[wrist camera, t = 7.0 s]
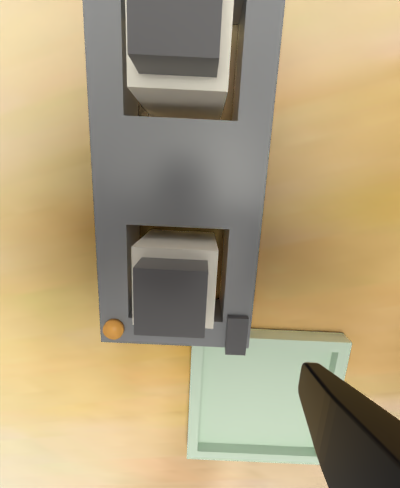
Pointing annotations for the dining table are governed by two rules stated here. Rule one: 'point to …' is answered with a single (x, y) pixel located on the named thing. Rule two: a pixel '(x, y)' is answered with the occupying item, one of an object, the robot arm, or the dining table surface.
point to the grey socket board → (180, 170)
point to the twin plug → (179, 56)
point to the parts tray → (258, 396)
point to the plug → (174, 283)
